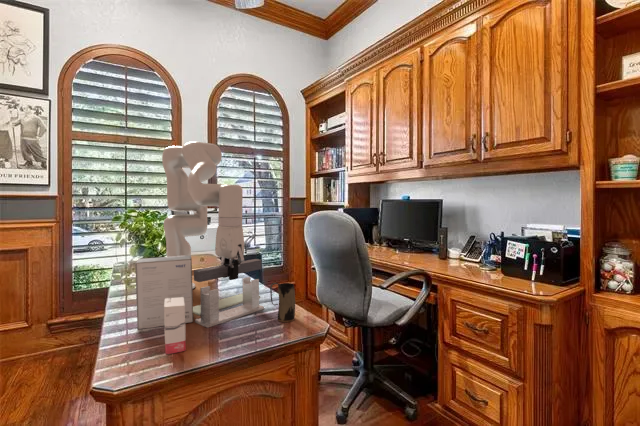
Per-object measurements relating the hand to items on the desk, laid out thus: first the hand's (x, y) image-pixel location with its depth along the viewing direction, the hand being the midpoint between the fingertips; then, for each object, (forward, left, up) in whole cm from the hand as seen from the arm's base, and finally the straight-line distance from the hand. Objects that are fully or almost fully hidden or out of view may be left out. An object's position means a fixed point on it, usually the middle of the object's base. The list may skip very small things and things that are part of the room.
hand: (230, 277), depth 108 cm
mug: (+17, +8, -13) cm, 22 cm away
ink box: (+9, -23, -13) cm, 28 cm away
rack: (+1, 0, -12) cm, 12 cm away
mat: (-11, +6, -12) cm, 18 cm away
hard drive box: (-10, -17, -13) cm, 23 cm away
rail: (0, 0, +1) cm, 1 cm away
